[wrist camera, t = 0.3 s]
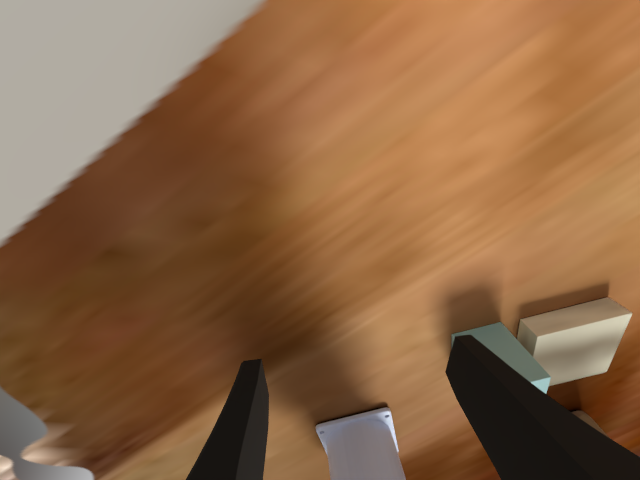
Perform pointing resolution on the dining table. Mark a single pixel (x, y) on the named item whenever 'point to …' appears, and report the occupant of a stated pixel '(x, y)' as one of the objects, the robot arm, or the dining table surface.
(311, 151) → the dining table surface
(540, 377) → the teal block
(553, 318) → the cream block
